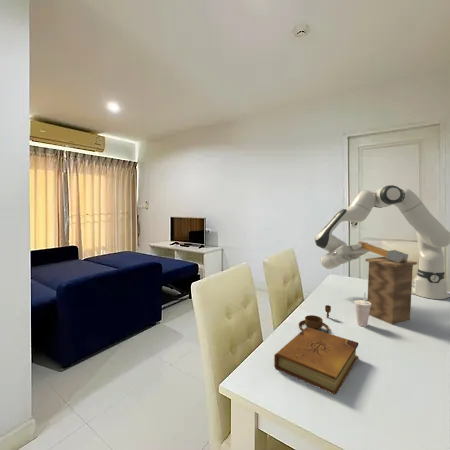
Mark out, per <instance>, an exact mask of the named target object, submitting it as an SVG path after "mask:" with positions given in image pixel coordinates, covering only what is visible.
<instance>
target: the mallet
mask: <svg viewBox="0 0 450 450" xmlns="http://www.w3.org/2000/svg"><path fill="white" fill-rule="evenodd" d="M359 243H362V244H363V247H361V248H363V249H366V250H368V251H369V252H370V253H371V252H372V253H374V254H377V255H379V256H380V257H386V258H387V259H389V260H392V261H394V262H397V263H405V262H407V260H408V258H409V254H408V253H404V252H401V251H400V250H396V249H393V250H386V249H384V248H381V247H379V246H376V245H373V244H370V243H369V242H365V241H358V243H357V244H359Z"/></svg>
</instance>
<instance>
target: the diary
mask: <svg viewBox="0 0 450 450" xmlns="http://www.w3.org/2000/svg"><path fill="white" fill-rule="evenodd" d="M303 329H304V330H303V331H302V330H300V332H299V333H298V334H297V335H295V336H294V337H293V338H292V339H290V340H289V342H287V343H286V344H285V345H283V347H281V348H280V350H278V351H277V352H276V353H274V356H273V357H274V359H273V361H274V366H273V367H274V368H275V369H276V370H278V371H280V372H283V373H285V374H288V375H289V376H292V377H294V378H296V379H299V380H300V381H303V382H305V383H308V384H310V385H312V386H314V385H315V386H314V387H316V386H317V388H319V387H320V388H319V389H321V388H322V390H323V389H324V391H325V390H327V391H326V392H328V391H329V392H328V393H330V392H331V393H330V394H332V393H333V395H334V394H336V393H337V394H338V393H339V391H340V389H339V388H341V387H342V385H343V384H342V383H344V382H345V380H346V379H345V378H347V377H348V376H349V374H350V371H351V370H352V368H353V367H354V366H355V365H354V364H355V363H356V361H357V360H358V358H359V355H357V354H356V352H357V348H358V347H359V342H357V341H354V340H351V339H347V338H344V337H342V336H337V335H335V334H332V333H329V332H328V333H325V331H321V330H320V329H319V330H315V329H312V328H309V327H307V326H305V328H303ZM346 376H347V377H346ZM337 394H336V395H337Z"/></svg>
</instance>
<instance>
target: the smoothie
mask: <svg viewBox="0 0 450 450" xmlns="http://www.w3.org/2000/svg"><path fill="white" fill-rule="evenodd" d="M354 305H355V312H356V313H355V314H356V323H357V325H358V326H360V327H365V328H366V327H367V326H368V322H369V318H370V315H369V312H370V307H371V303H370V302H368V300H366V292H365V291H364V292H363V299H356V300H354Z"/></svg>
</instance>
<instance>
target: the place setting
mask: <svg viewBox="0 0 450 450" xmlns="http://www.w3.org/2000/svg"><path fill="white" fill-rule="evenodd" d="M324 311H325V313H326V318H327V319H329V318H330V313H331V311H332V306H331V305H329V304H327V305H325V307H324ZM302 325H305V327H309V328H312V329H315V330H319V331H320V330H321V328H323V327H324V328H325V329H326V330H325V331H324V332H325V333H328V334H329V331H330V327H329V325H328V324H326V323H325V322H323V318H322V317H320V316H318V315H313V314H310V315H306V316H305V317H304V319H303V320H301V321H299V322H298V329H300V331H303V330H304V329H305V328H303V327H302Z"/></svg>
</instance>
